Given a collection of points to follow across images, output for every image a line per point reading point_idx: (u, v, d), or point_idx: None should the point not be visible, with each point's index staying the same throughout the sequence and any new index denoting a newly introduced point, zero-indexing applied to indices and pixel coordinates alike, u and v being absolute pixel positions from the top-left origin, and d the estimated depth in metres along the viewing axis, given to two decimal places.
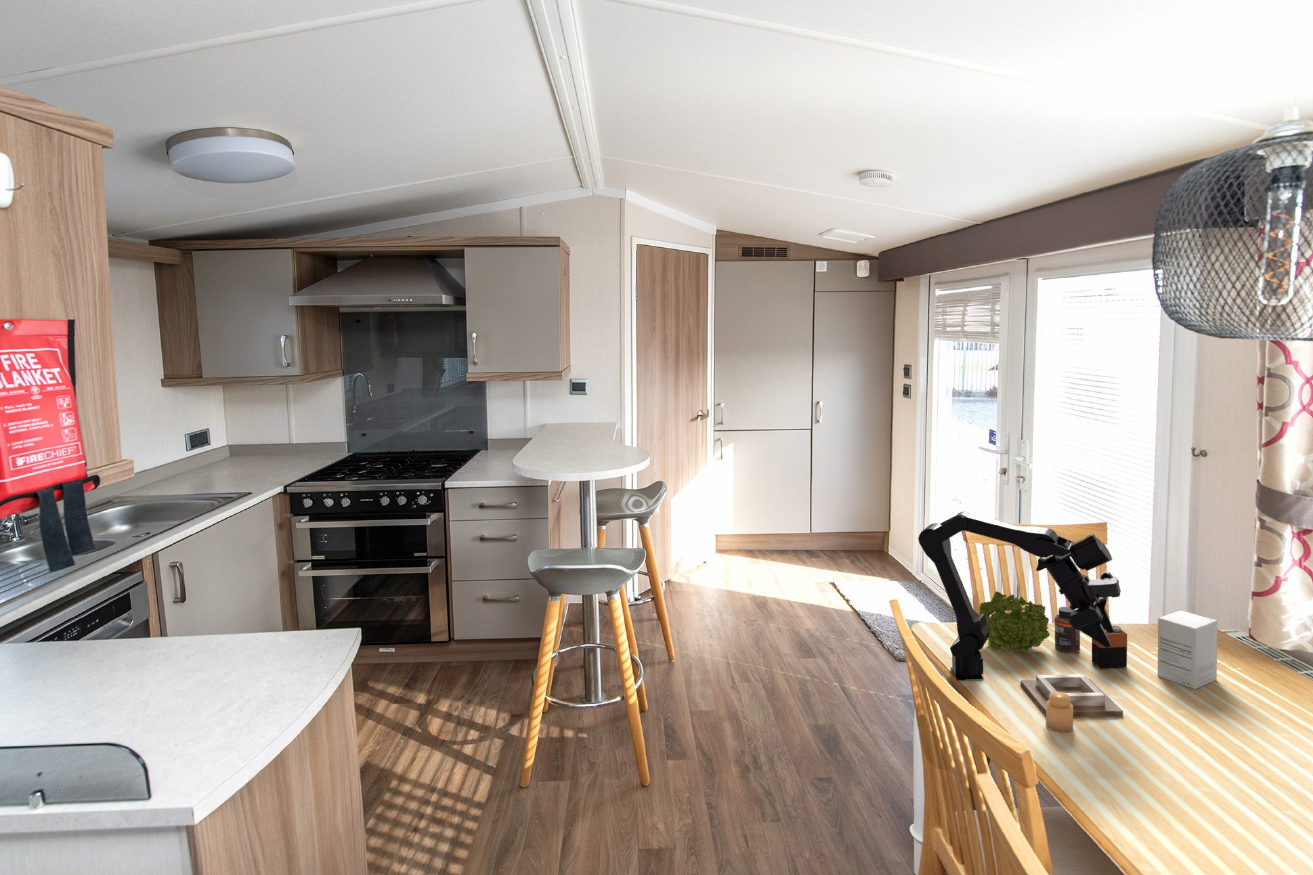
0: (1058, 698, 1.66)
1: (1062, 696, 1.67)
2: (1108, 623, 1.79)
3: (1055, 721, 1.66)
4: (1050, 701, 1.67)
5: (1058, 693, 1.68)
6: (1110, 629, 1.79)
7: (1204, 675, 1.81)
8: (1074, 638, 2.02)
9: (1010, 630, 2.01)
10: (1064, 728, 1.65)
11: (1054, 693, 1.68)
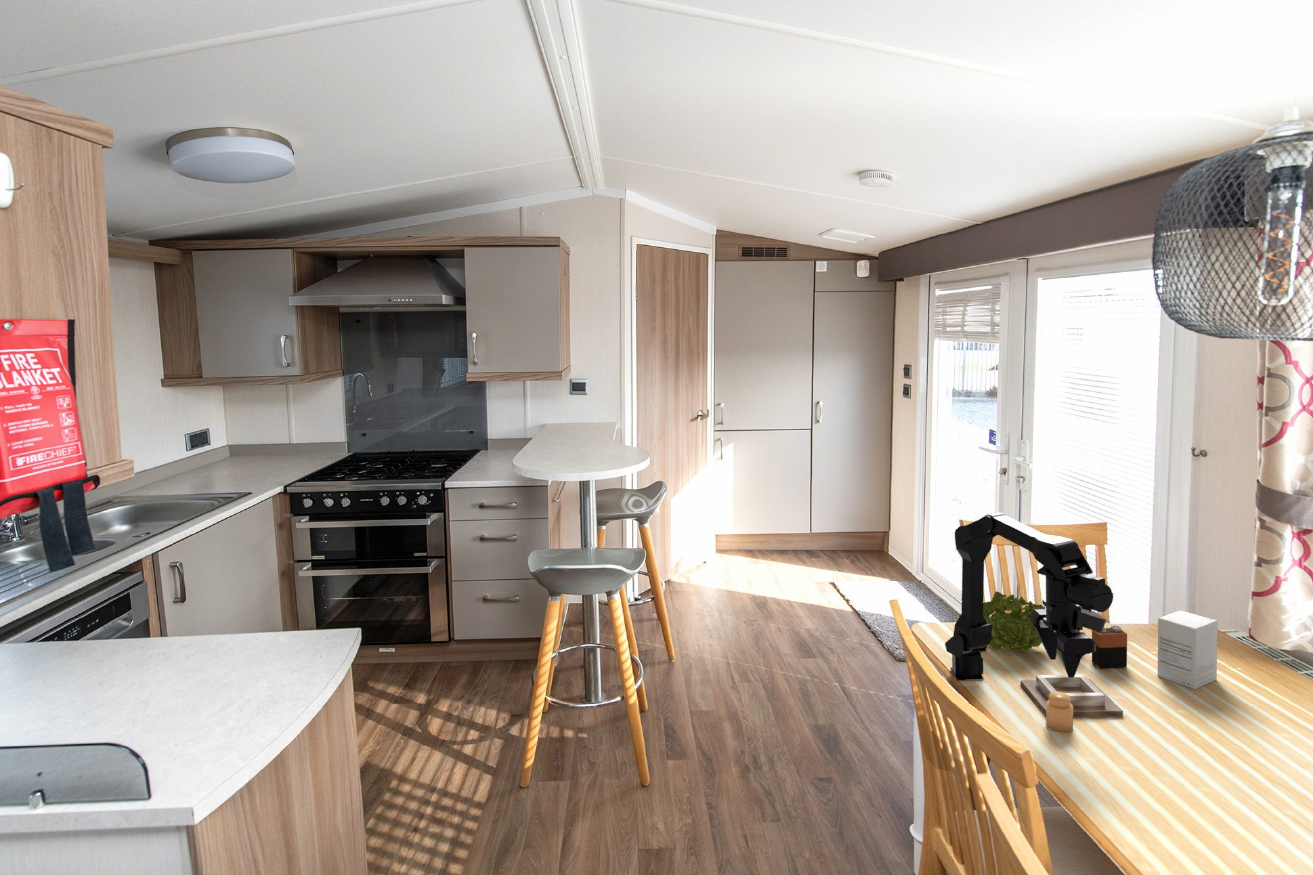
0: (1058, 698, 1.66)
1: (1062, 696, 1.67)
2: (1055, 650, 1.70)
3: (1055, 721, 1.66)
4: (1050, 701, 1.67)
5: (1058, 693, 1.68)
6: (1053, 656, 1.70)
7: (1204, 675, 1.81)
8: None
9: (1010, 630, 2.01)
10: (1064, 728, 1.65)
11: (1054, 693, 1.68)
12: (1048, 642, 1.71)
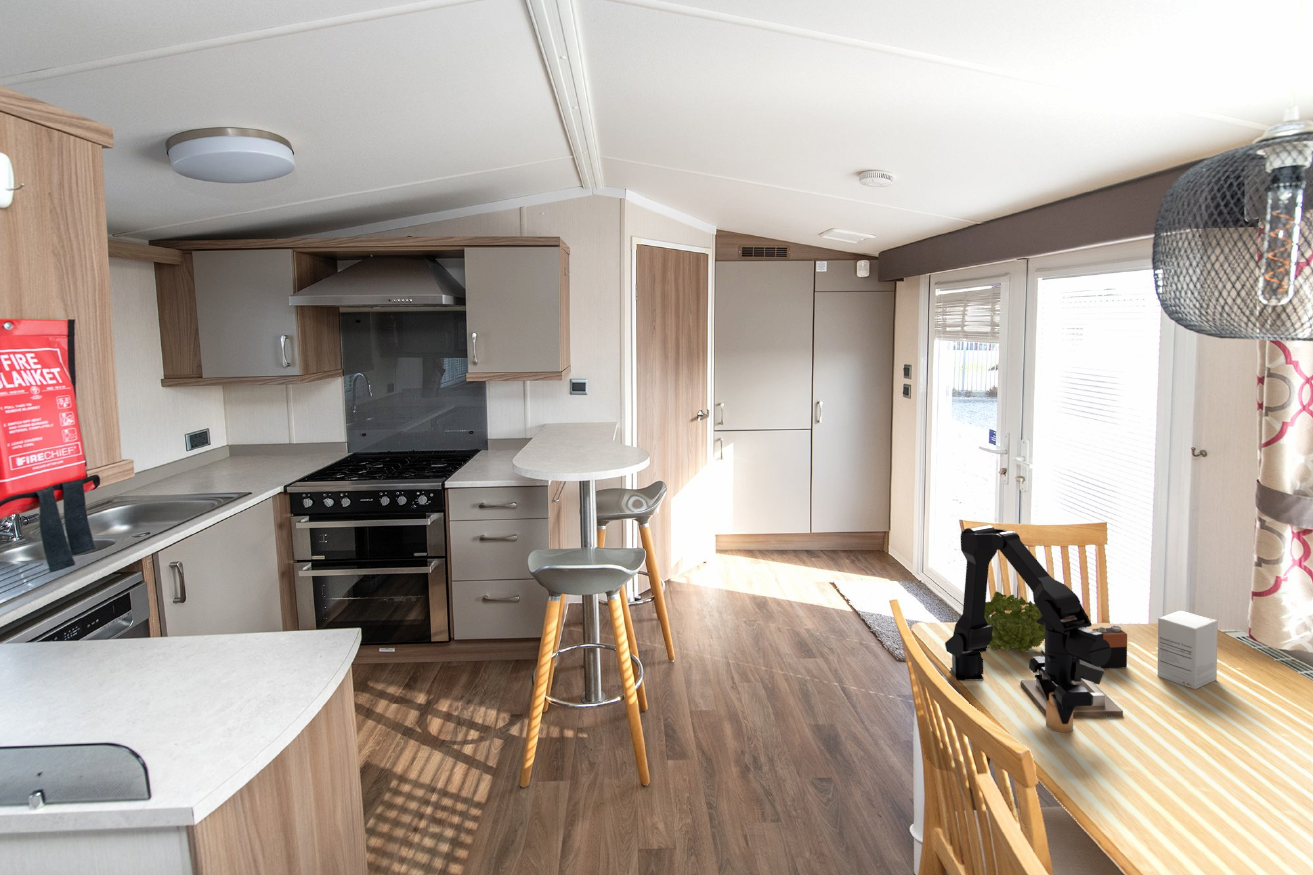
0: None
1: None
2: None
3: (1055, 721, 1.66)
4: (1050, 701, 1.67)
5: None
6: None
7: (1204, 675, 1.81)
8: None
9: (1010, 630, 2.01)
10: (1064, 728, 1.65)
11: (1054, 693, 1.68)
12: None
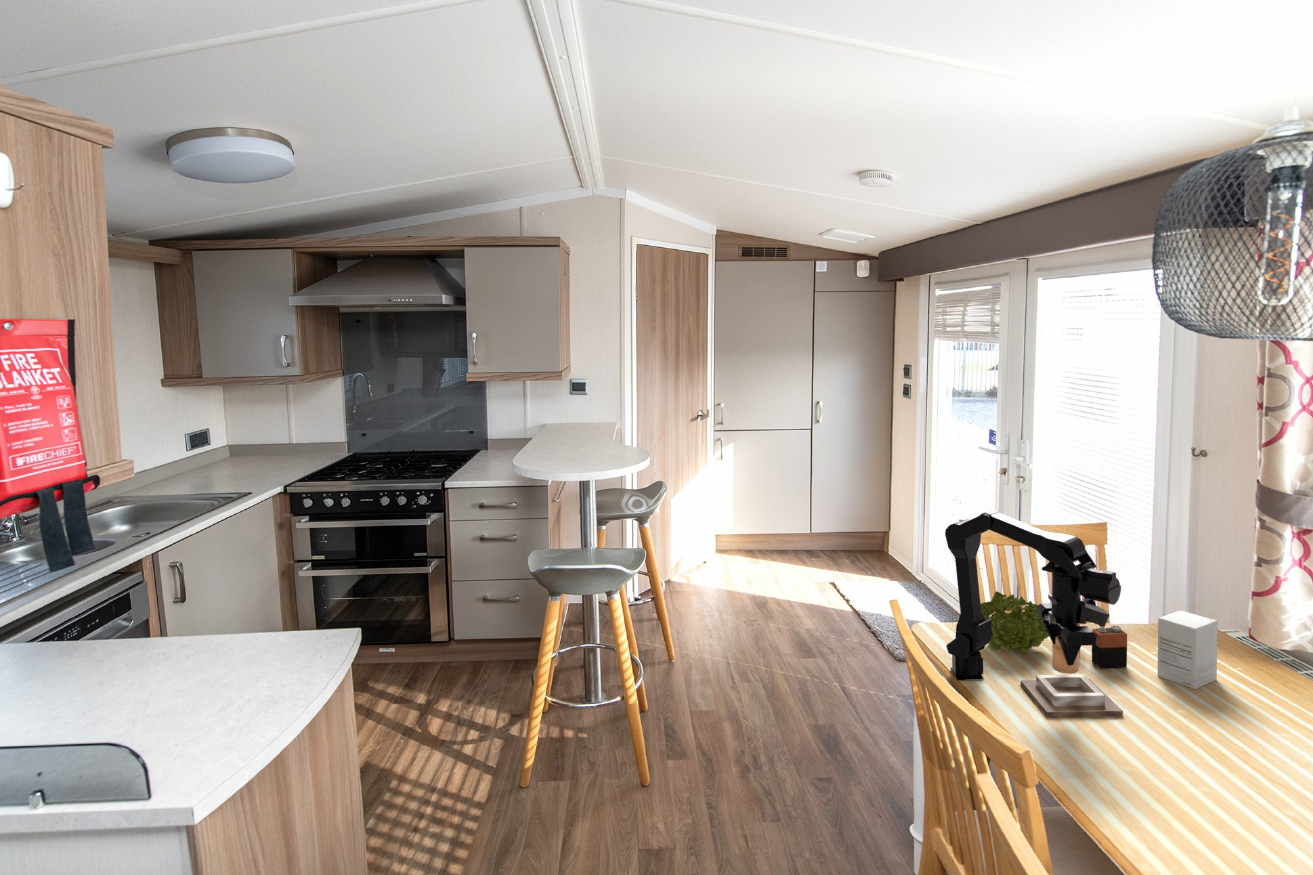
0: None
1: None
2: None
3: (1061, 663, 1.71)
4: (1056, 644, 1.73)
5: None
6: None
7: (1204, 675, 1.81)
8: None
9: (1010, 630, 2.01)
10: (1070, 669, 1.71)
11: None
12: None
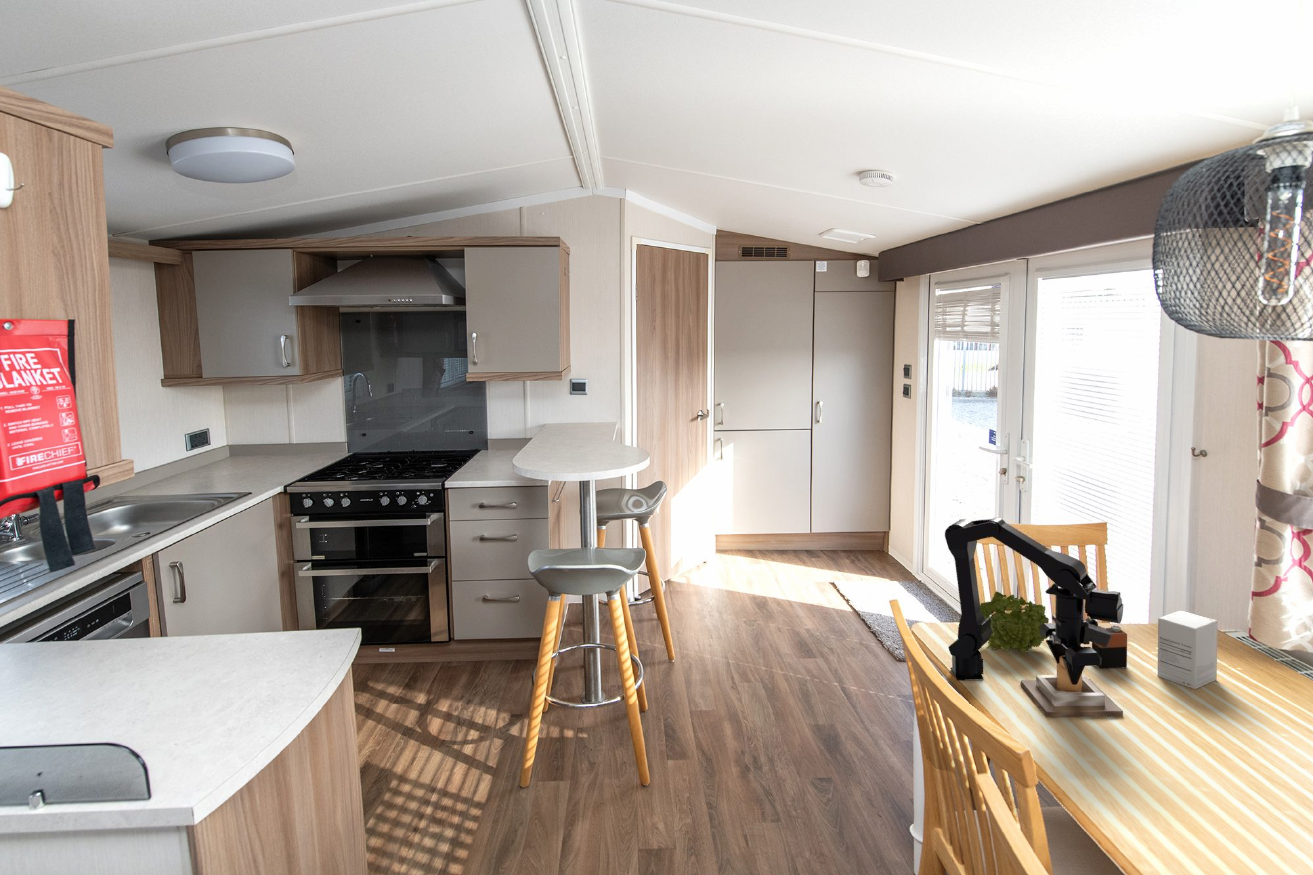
0: None
1: None
2: None
3: (1066, 682, 1.76)
4: (1061, 663, 1.78)
5: None
6: None
7: (1204, 675, 1.81)
8: None
9: (1010, 630, 2.01)
10: (1074, 688, 1.76)
11: (1064, 656, 1.79)
12: (1059, 657, 1.81)
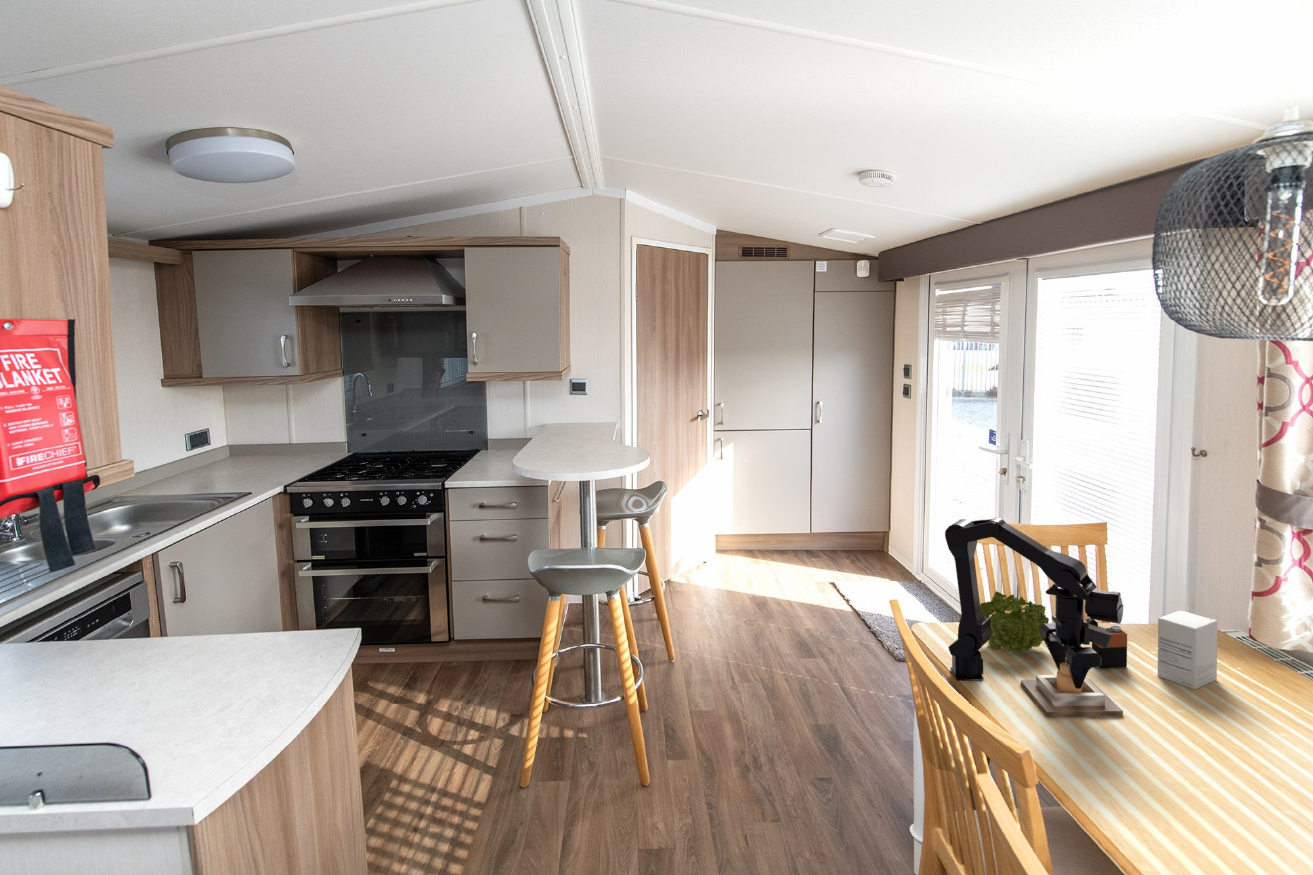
0: None
1: None
2: (1063, 662, 1.82)
3: (1066, 689, 1.77)
4: (1061, 671, 1.78)
5: None
6: None
7: (1204, 675, 1.81)
8: None
9: (1010, 630, 2.01)
10: None
11: (1064, 663, 1.79)
12: (1056, 654, 1.83)
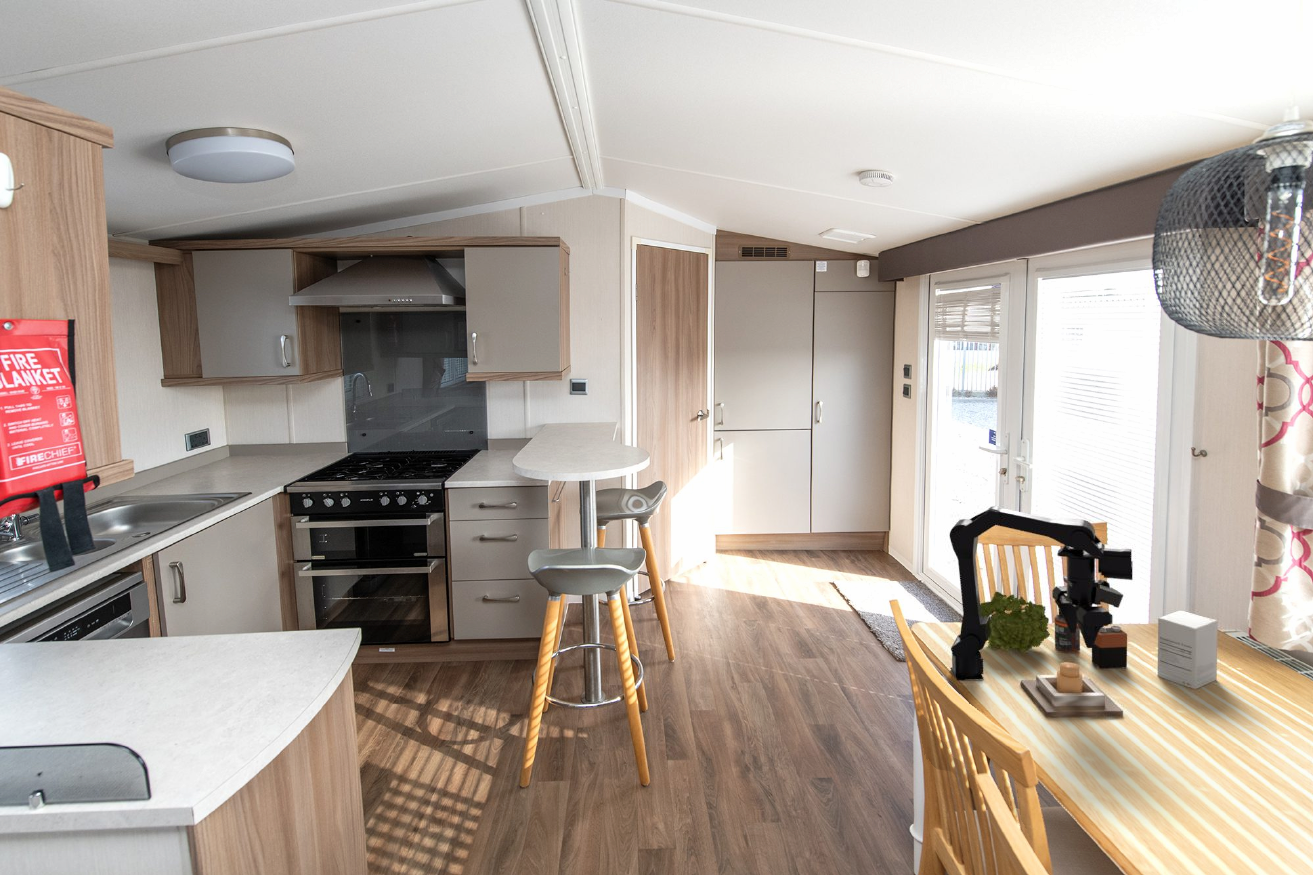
0: (1069, 668, 1.77)
1: (1072, 666, 1.78)
2: (1075, 624, 1.84)
3: (1066, 689, 1.77)
4: (1061, 671, 1.78)
5: (1068, 663, 1.79)
6: (1073, 629, 1.84)
7: (1204, 675, 1.81)
8: (1074, 638, 2.02)
9: (1010, 630, 2.01)
10: None
11: (1064, 664, 1.79)
12: (1068, 616, 1.84)
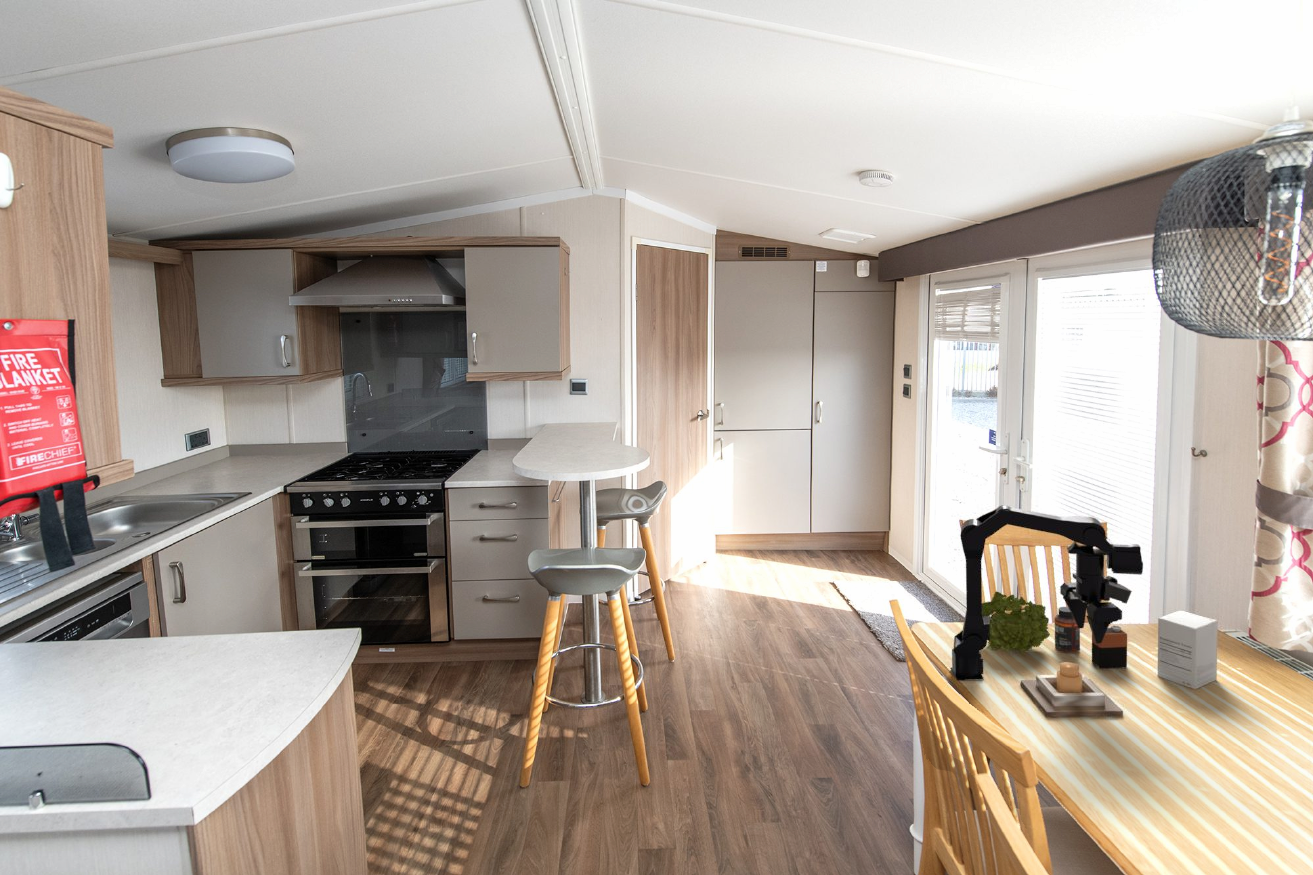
0: (1068, 668, 1.77)
1: (1072, 666, 1.78)
2: (1083, 619, 1.86)
3: (1066, 689, 1.77)
4: (1060, 671, 1.78)
5: (1068, 663, 1.79)
6: (1081, 625, 1.87)
7: (1204, 675, 1.81)
8: (1074, 638, 2.02)
9: (1010, 630, 2.01)
10: None
11: (1064, 663, 1.79)
12: (1076, 612, 1.87)
